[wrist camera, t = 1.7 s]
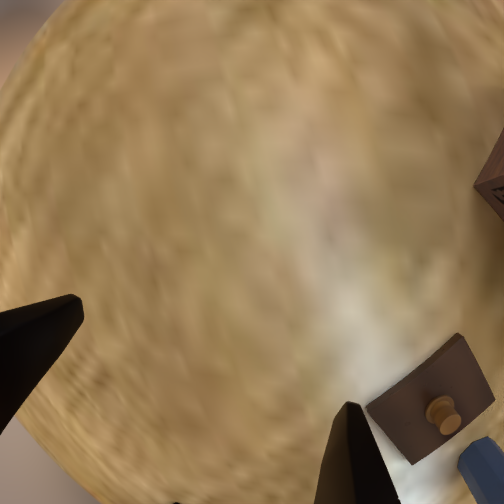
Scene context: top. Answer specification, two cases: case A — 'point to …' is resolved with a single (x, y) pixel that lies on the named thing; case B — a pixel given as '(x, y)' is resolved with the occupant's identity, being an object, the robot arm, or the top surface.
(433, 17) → the top surface
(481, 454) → the blue sleeve
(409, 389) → the brown plate with knob
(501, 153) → the tissue box cover
